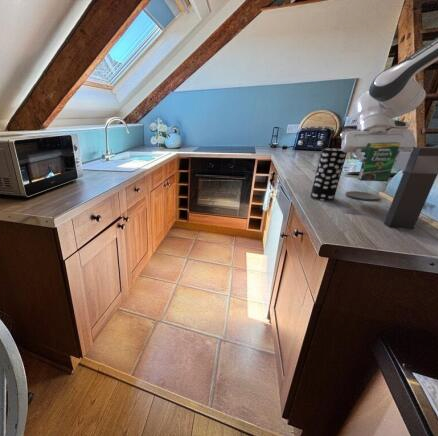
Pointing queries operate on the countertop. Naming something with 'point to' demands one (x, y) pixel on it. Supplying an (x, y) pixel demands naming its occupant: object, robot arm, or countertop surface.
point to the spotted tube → (328, 174)
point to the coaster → (362, 196)
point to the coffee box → (378, 161)
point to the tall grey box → (412, 186)
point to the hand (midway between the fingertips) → (379, 161)
